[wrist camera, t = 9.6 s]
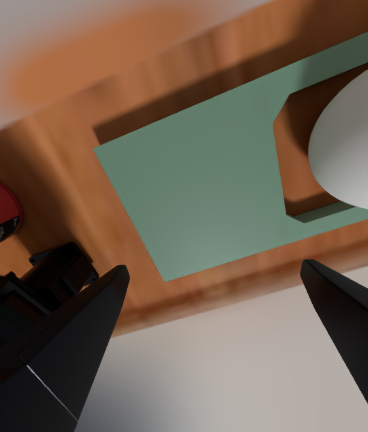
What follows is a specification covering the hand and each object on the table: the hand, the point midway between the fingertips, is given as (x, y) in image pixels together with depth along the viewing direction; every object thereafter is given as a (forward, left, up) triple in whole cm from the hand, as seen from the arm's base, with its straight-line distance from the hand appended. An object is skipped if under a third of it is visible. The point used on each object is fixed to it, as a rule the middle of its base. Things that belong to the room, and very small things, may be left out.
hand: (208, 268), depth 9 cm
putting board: (+8, 0, -12) cm, 15 cm away
